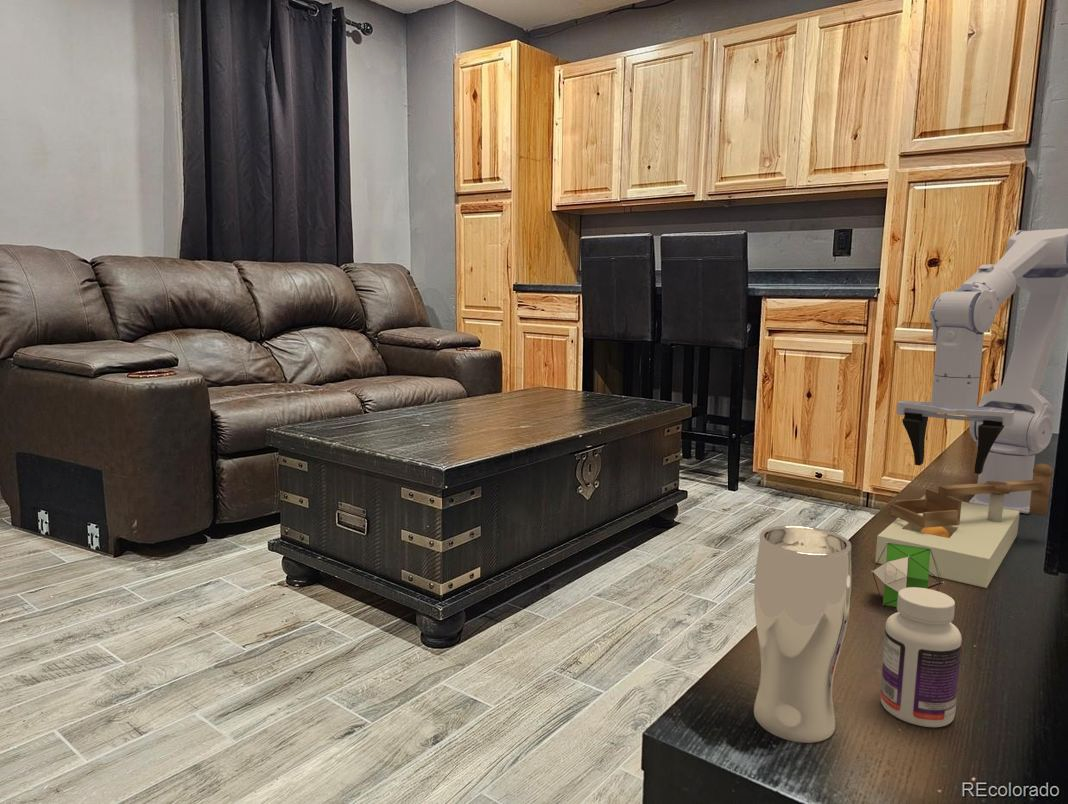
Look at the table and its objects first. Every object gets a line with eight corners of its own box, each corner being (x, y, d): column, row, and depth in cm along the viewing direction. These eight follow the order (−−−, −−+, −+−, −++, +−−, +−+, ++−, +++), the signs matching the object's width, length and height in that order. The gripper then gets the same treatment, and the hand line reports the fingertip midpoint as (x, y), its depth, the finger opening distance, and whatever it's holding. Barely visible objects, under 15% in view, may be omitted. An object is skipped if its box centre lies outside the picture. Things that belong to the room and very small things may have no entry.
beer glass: (850, 753, 53) (865, 558, 50) (752, 741, 54) (762, 551, 52) (831, 700, 59) (843, 527, 57) (744, 691, 61) (752, 521, 58)
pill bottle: (961, 708, 58) (972, 595, 57) (945, 738, 54) (957, 618, 53) (890, 684, 62) (899, 577, 60) (870, 711, 58) (879, 597, 56)
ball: (954, 543, 93) (932, 560, 93) (932, 522, 95) (910, 539, 95) (960, 538, 90) (937, 555, 90) (936, 516, 92) (914, 533, 92)
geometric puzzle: (873, 564, 84) (875, 523, 78) (940, 574, 80) (946, 533, 75) (868, 618, 79) (869, 579, 74) (938, 631, 76) (945, 592, 71)
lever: (1026, 505, 100) (1031, 458, 99) (1063, 518, 95) (1069, 468, 94) (890, 516, 95) (894, 466, 94) (921, 529, 90) (925, 477, 89)
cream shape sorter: (922, 517, 108) (926, 471, 107) (1017, 535, 100) (1022, 485, 99) (875, 562, 90) (879, 507, 89) (986, 588, 82) (992, 527, 81)
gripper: (893, 374, 104) (887, 465, 106) (1012, 382, 95) (1002, 482, 97) (906, 370, 109) (899, 457, 111) (1020, 377, 100) (1010, 472, 102)
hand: (948, 468), depth 104 cm, fingers open, 7 cm apart
